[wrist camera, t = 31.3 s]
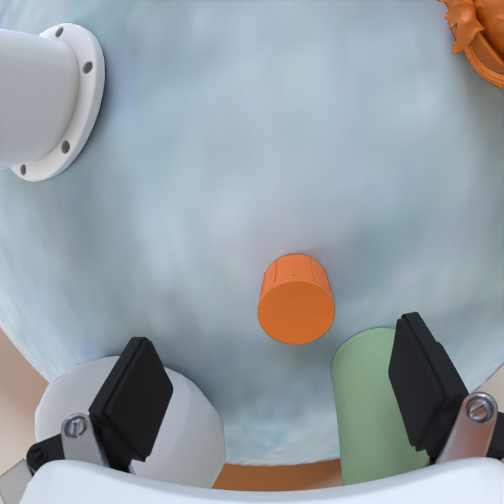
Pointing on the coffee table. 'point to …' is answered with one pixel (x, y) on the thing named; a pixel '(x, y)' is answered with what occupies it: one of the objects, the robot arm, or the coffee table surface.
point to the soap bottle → (171, 431)
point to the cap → (295, 300)
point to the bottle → (370, 411)
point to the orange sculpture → (479, 35)
